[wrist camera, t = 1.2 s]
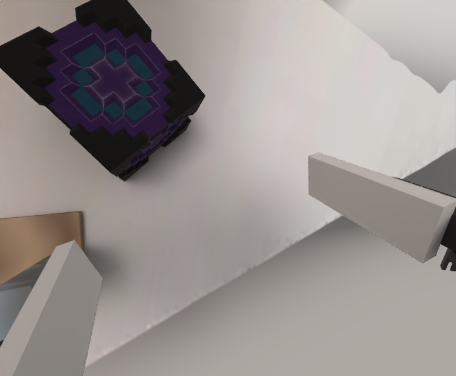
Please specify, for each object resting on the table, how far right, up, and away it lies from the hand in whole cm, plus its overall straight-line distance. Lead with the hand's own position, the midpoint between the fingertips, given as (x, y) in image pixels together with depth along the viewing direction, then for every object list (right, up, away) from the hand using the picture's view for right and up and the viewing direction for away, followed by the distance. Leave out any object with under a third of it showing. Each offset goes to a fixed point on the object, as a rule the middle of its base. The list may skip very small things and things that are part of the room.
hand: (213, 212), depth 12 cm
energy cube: (-14, +11, +18) cm, 25 cm away
